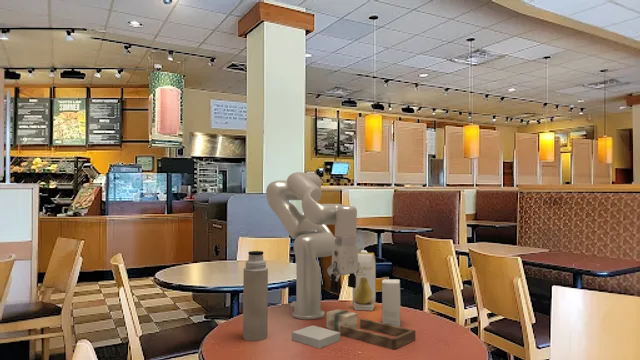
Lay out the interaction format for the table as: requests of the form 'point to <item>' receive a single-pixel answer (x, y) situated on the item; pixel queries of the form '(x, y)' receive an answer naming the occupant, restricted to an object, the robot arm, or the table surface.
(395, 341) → the shelf bay
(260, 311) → the thermos bottle
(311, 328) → the plate
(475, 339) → the table surface
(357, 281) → the juice carton
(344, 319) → the parcel
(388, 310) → the skincare box
